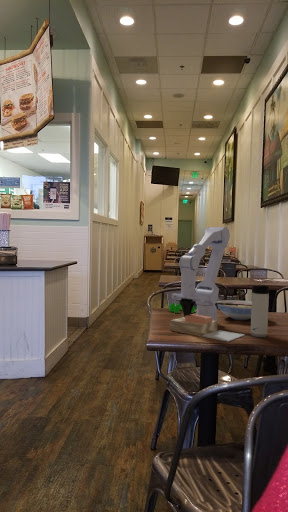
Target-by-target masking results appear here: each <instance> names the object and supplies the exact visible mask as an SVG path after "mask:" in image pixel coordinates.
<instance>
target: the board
mask: <svg viewBox="0 0 288 512" xmlns="http://www.w3.org/2000/svg"><path fill="white" fill-rule="evenodd" d="M218 324H219V321H218V320H217V321H216V320H212V322H211V323H207V324H201V323H195V322H189V321H185V318H184V316H183V317H179V318H178V317H177V318H175V319H174V318H173V319H170V320H169V331H172V332H178V333H182V334H186V335H192V336H196V337H202V335H205V334H208V333H212V332H215V331H218V326H219V325H218Z"/></svg>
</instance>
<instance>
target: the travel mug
mask: <svg viewBox="0 0 288 512" xmlns="http://www.w3.org/2000/svg"><path fill="white" fill-rule="evenodd" d="M251 291H252V292H251V302H252V310H251V318H250V336H252V337H255V338H266V337H267V336H268V327H269V326H268V323H269V322H268V319H269V307H268V306H269V302H270V301H269V299H270V295H269V294H270V286H269V285H264V284H263V285H252V290H251Z"/></svg>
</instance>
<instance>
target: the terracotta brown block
mask: <svg viewBox="0 0 288 512" xmlns="http://www.w3.org/2000/svg"><path fill="white" fill-rule="evenodd" d="M185 321H189V322H195V323H201V324H207V323H211V322H212V317H208V316H202V315H197V313H196V314H195V313H191V314H190V315H187V316H185Z"/></svg>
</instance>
